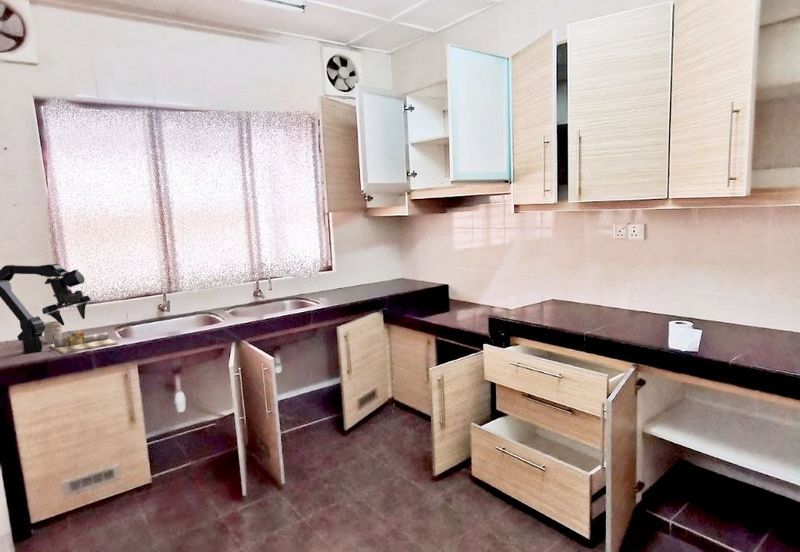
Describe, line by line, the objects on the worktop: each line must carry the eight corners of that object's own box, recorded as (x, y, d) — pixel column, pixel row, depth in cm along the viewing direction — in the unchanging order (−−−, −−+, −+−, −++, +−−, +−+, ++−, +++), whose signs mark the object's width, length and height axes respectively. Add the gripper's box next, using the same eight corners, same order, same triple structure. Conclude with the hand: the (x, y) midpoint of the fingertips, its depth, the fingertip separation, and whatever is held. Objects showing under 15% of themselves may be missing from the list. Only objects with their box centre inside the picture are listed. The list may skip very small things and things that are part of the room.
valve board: (63, 353, 217) (62, 341, 216) (50, 346, 233) (48, 335, 232) (117, 344, 233) (116, 332, 233) (101, 338, 249) (100, 328, 249)
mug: (49, 344, 239) (46, 324, 238) (36, 342, 245) (34, 323, 245) (67, 340, 246) (65, 321, 246) (54, 339, 253) (52, 320, 252)
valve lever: (70, 334, 232) (70, 330, 231) (76, 333, 233) (76, 329, 233) (78, 337, 223) (78, 333, 223) (84, 336, 225) (84, 332, 224)
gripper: (48, 292, 210) (61, 325, 212) (90, 281, 227) (102, 312, 228) (35, 297, 216) (49, 329, 217) (78, 286, 232) (90, 317, 234)
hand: (73, 322), depth 224 cm, fingers open, 9 cm apart
